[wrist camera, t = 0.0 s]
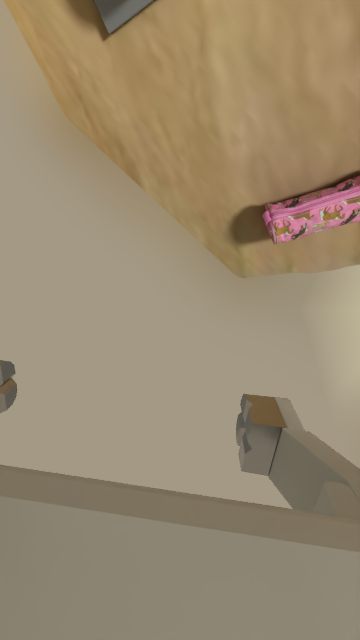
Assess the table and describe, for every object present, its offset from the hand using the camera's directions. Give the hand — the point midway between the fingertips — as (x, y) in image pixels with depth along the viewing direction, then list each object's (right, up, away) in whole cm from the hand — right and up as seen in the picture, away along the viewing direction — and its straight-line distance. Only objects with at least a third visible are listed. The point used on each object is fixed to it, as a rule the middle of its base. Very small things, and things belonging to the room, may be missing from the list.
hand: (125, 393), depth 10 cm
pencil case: (+30, +27, +47) cm, 62 cm away
